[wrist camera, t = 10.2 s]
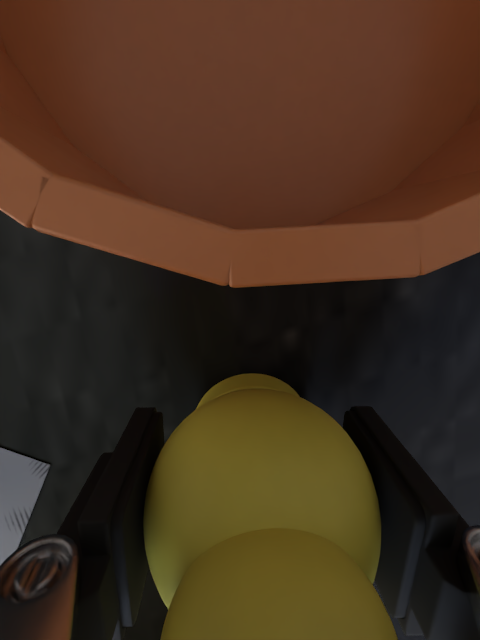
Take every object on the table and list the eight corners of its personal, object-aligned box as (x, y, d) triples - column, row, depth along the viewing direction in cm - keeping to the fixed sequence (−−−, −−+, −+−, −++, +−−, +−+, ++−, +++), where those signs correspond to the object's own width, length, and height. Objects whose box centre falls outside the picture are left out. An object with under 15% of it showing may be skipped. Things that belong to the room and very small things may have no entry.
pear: (234, 317, 10) (291, 1121, 1) (361, 408, 11) (948, 1189, 2) (139, 440, 11) (-246, 1353, 2) (263, 512, 12) (366, 1319, 3)
